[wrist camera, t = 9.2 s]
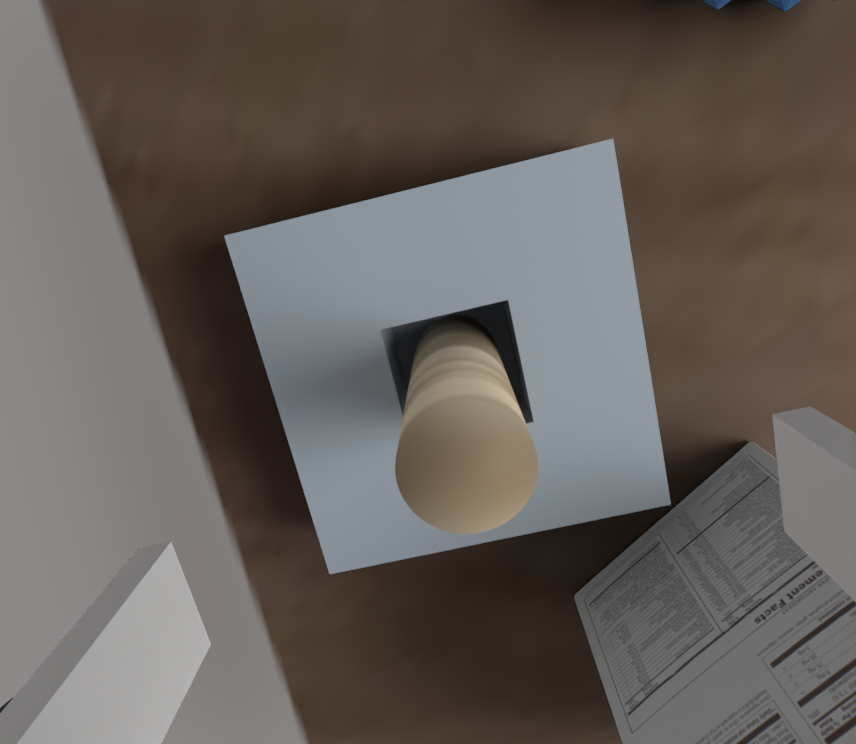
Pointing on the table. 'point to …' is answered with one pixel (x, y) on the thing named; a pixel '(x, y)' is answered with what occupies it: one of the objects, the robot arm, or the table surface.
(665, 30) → the table surface
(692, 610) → the supplement box
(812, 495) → the robot arm
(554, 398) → the socket block
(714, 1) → the grapes
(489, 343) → the peg
